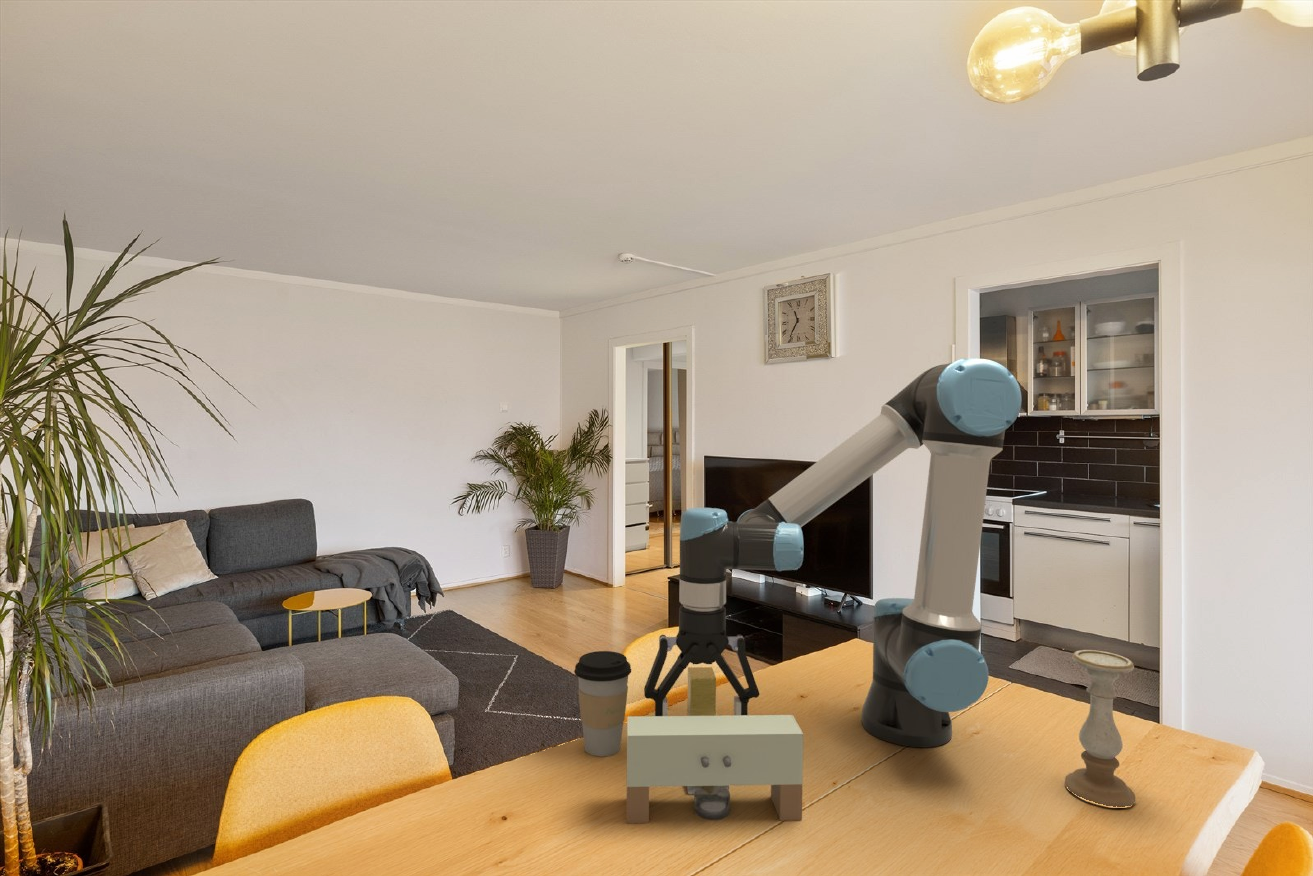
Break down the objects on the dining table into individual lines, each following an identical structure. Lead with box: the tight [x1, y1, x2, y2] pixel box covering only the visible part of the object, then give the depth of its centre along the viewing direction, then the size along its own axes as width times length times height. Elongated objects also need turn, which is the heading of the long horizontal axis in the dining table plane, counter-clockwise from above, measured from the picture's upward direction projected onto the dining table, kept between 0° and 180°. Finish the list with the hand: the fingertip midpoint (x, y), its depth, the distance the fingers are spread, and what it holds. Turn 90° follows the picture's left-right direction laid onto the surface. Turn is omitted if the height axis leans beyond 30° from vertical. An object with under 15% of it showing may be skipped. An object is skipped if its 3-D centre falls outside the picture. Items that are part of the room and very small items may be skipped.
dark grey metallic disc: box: [693, 786, 731, 821], centre depth 96 cm, size 5×5×2 cm
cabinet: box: [626, 714, 804, 824], centre depth 96 cm, size 24×7×12 cm, turn 93°
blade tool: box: [686, 666, 730, 795], centre depth 107 cm, size 6×13×14 cm, turn 3°
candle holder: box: [1064, 649, 1136, 807], centre depth 101 cm, size 9×9×20 cm
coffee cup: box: [573, 650, 632, 758], centre depth 114 cm, size 9×9×15 cm
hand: (700, 739), depth 111 cm, fingers open, 11 cm apart
